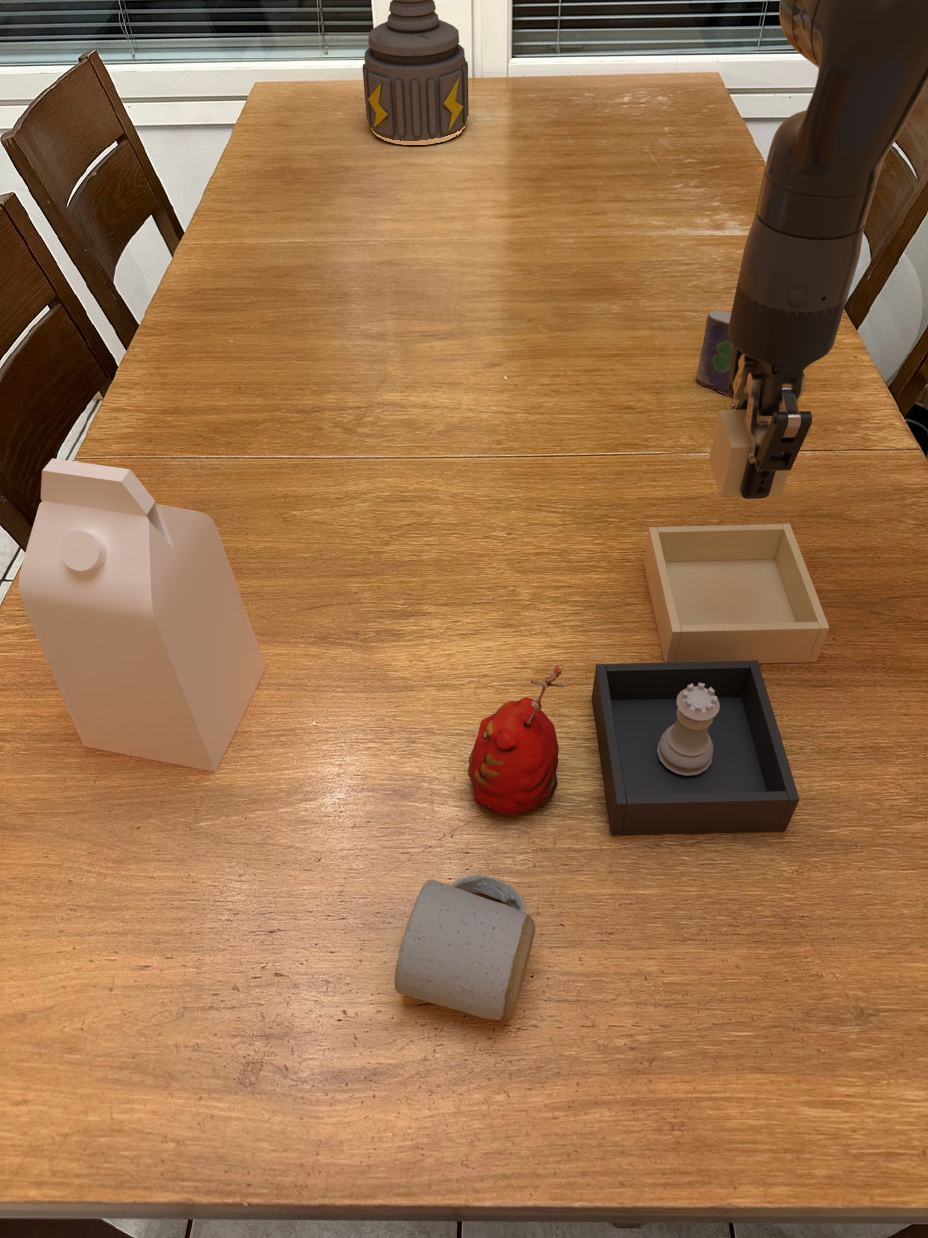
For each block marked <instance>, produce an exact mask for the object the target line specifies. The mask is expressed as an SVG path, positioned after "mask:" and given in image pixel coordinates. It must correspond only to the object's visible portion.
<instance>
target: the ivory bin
mask: <svg viewBox="0 0 928 1238" xmlns="http://www.w3.org/2000/svg"><path fill="white" fill-rule="evenodd" d="M647 530H648V532H647V537H646V541H645V542H646V543H645V549H644V555H643V561H642V562H643V568H644V573H645V578H646V581H647V586H648V591H649V595H650V600H651V605H652V610H653V614H654V619H655V624H656V629H657V633H658V639H659V642H660V643H659V644H660V647H661V652H662V657H663V661H664V662H663V663H666V662H708V661H749V660H758V663H759V664H790V663H791V664H795V663H797V664H798V663H817V661H818V658H819V656H820V653H821V651H822V648H823V645H824V644H825V640H826V638H827V635H828V633H829V631H830V625H829V623H828V620H827V617H826V614H825V613H824V609H823V607H822V604H821V602H820V599H819V596H818V593H817V591H816V588H815V585H814V583H813V580H812V578H811V575H810V572H809V570H808V567H807V565H806V562H805V559H804V557H803V553H802V552H801V549H800V546H799V543H798V541H797V538H796V537H795V536H796V535H795V534H794V531H793V528H792V526H791V523H766V524H765V523H764V524H763V523H761V524H760V523H759V524H723V525H721V524H720V525H718V524H717V525H681V526H680V525H679V526H678V525H677V526H649V527H648V529H647Z"/></svg>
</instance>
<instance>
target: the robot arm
mask: <svg viewBox="0 0 928 1238" xmlns="http://www.w3.org/2000/svg"><path fill="white" fill-rule="evenodd" d="M778 8H779V9H778V15H779V22H780V26H781V30H782V32H783V35H784V36H785V38H786V40H787V41H788V43H789V44H790V46H791V47H792V48H793V49H794V50H795V51H796V52H797V53H798V54H799V55H800V56H802V57H803V58H805V59H806V60H807V61H808V62H810V63H811V64H813V65H814V66H815V67H817V68H818V71H817V76H816V77H817V78H816V82H815V86H814V89H813V92H812V96H811V98H810V101H809V103H808V105H807V108H806V109H804V110H802V111H799V112H796V113H793V114H792V115H790V116H789V117H787V118H786V119H785V120H784V121H782V123H781V124H779V125H778V128H777V130H776V131H775V133H774V134H773V137H772V140H771V143H770V147H769V150H768V154H767V158H766V161H765V164H764V165H765V166H764V170H763V176H762V179H761V180H762V181H761V185H760V190H759V195H758V199H757V204H756V210H755V212H754V213H755V214H754V218H753V220H752V223H751V226H750V229H749V232H748V235H747V237H746V241H745V245H744V250H743V253H742V259H741V263H740V264H741V265H740V268H739V274H738V278H737V284H736V289H735V292H734V293H735V294H734V298H733V304H732V308H731V313H730V314H731V317H730V322H729V327H728V334H729V338H730V340H731V342H732V344H733V345H734V346H733V353H732V361H731V368H730V375H729V382H728V386H727V390H728V393H729V395H734V397H733V399H732V398H731V402H730V406H729V407H730V410H737V409H747V415H746V424H745V427H746V429H747V430H748V431H749V432H750V433H751V437H750V446H749V453H748V460H747V464H746V468H745V472H744V476H743V480H742V484H741V488H740V491H741V494H742V498H743V499H744V500H745V499H746V500H750V499H753V500H754V499H765V498H768V497H769V496H768V495H769V493H770V490H771V486H772V482H773V479H774V475H775V472H776V471H788V470H789V471H791V470H792V468H793V466H794V464H795V462H796V460H797V457H798V455H799V452H800V451H801V448H802V446H803V444H804V442H805V441H806V438H807V435H808V433H809V430H810V429H811V426H812V423H813V414H812V412H811V411H810V410H799V399H800V397H802V395H803V394H804V388H805V382H806V381H805V380H806V376H805V372H804V371H805V369H807V368H808V367H809V366H810V365H812V364H813V363H815V362H817V361H820V360H821V359H822V358H824V357H825V356H826V355H828V354H829V353H830V351H831V350H832V349H833V347H834V344H835V341H836V338H837V334H838V331H839V328H840V325H841V321H842V318H843V315H844V311H845V307H846V304H847V302H848V298H849V295H850V291H851V287H852V285H853V282H854V281H853V280H854V277H855V274H856V271H857V267H858V263H859V260H860V257H861V250H862V245H863V236H864V232H865V228H866V223H867V219H868V216H869V212H870V210H871V206H872V202H873V199H874V195H875V191H876V188H877V185H878V182H879V180H880V179H879V178H880V175H881V172H882V171H881V170H882V166H883V163H884V161H885V158H886V157H887V155H888V154H889V151H890V150H891V148H892V147H893V145H894V144H895V142H896V141H897V139H898V137H899V135H900V134H901V132H902V131H903V129H904V127H905V125H906V123H907V121H908V119H909V118H910V116H911V114H912V113H913V110H914V108H915V107H916V105H917V103H918V101H919V99H920V97H921V96H922V94H923V92H924V90H925V89H926V86H927V85H928V0H779V5H778ZM758 415H761V416H772V418H769V420H768V421H758ZM763 435H765V437H764V439H763V442H762V444H761V438H762V436H763ZM760 445H761V447H760Z"/></svg>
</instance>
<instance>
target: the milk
mask: <svg viewBox="0 0 928 1238" xmlns="http://www.w3.org/2000/svg"><path fill="white" fill-rule="evenodd" d="M40 500H41V502H39V504H38V508H37V510H36V515H35V518H34V521H33V525H32V528H31V532H30V536H29V539H28V542H27V545H26V549H25V553H24V556H23V559H22V563H21V567H20V571H19V577H18V585H17V586H18V595H19V600H20V602H21V605H22V607H23V609H24V612H25V613H26V616H27V619H28V620H29V624H30V625H31V627H32V630H33V632H34V635H35V638H36V639H37V642H38V644H39V646H40V648H41V651H42V653H43V656H44V658H45V660H46V662H47V665H48V667H49V669H50V673H51V675H52V676H53V679H54V681H55V683H56V685H57V688H58V690H59V693H60V695H61V697H62V700H63V702H64V704H65V706H66V708H67V711H68V713H69V716H70V718H71V720H72V723H73V725H74V727H75V729H76V732H77V734H78V737H79V740H80V741H81V744H82V746H83V747H84V748H90V749H94V750H100V751H105V752H108V753H109V752H110V753H114V754H120V755H126V756H130V757H135V758H142V759H145V760H150V761H156V762H162V763H166V764H172V765H176V766H180V767H181V766H182V767H187V768H192V769H197V770H202V771H207V772H212V773H217V771H218V769H219V766H220V765H221V763H222V761H223V758H224V756H225V755H226V752H227V751H228V748H229V746H230V743H231V742H232V739H233V738H234V737H235V736H234V735H235V733H236V732H237V729H238V727H239V725H240V723H241V721H242V719H243V717H244V716H245V713H246V711H247V708H248V707H249V705H250V702H251V700H252V698H253V696H254V694H255V692H256V690H257V688H258V686H259V684H260V682H261V680H262V678H263V675H264V673H266V672H265V671H266V669H267V665H266V662H265V658H264V657H263V654H262V650H261V648H260V645H259V643H258V640H257V637H256V635H255V632H254V629H253V626H252V622H251V620H250V618H249V617H250V616H249V614H248V612H247V609H246V606H245V603H244V600H243V598H242V595H241V592H240V589H239V586H238V583H237V580H236V578H235V575H234V573H233V570H232V567H231V564H230V561H229V559H228V555H227V553H226V550H225V547H224V543H223V541H222V539H221V536H220V533H219V530H218V527H217V525H216V523H215V521H214V519H213V518H212V517H211V516H210V515H209V514H206V513H204V512H202V511H197V510H193V509H188V508H182V507H177V506H171V505H165V504H160V503H156V501H155V499H154V498H153V496H152V495H151V493H149V491H148V490H147V489H146V487H145V486H144V485H143V483H142V482H141V480H139V478H137V476H136V475H135V473H134V472H133V471H132V469H130V468H125V467H116V466H111V465H110V466H109V465H101V464H96V463H89V462H81V461H74V460H67V459H66V460H65V459H59V458H53V457H52V458H51V459H50V460H49V461H48V463H46V465H45V466H44V468H42V470H41V483H40Z"/></svg>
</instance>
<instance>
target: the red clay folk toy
mask: <svg viewBox="0 0 928 1238" xmlns="http://www.w3.org/2000/svg"><path fill="white" fill-rule="evenodd" d="M550 673H551V674H550V675H549V677H545V678H543V680H542V682H539V681H534V680H530V683H532V684H534V685H539V686H542V688H541V692H540V694H539V695H538V698H537V699H533V698H531V697H528V696H525V697H523V698H520V699H518V700H515V701H513V700H510V701H507V702H505V703H503V704H502V705H501V706H500V707H499V708H498V709H497V710H496V711H495V712H494V713H493V714H491V715H489V716H487V717H484V718H483V719H482V720H481V721H480V725H479V727H478V728H479V729H478V732H477V737H476V739H475V741H474V745H473V747H472V750H471V752H470V755H469V757H468V768H467V776H468V777H469V778H470V782H471V784H472V785H473V793H472V794H473V795H472V796H473V799H474V802H475V803H476V805H477V806H479V807H481V808H485V809H491V810H492V811H494V812H496V813H497V814H500V815H504V816H505V815H506V816H512V815H519V814H523V813H527V812H529V811H530V810H532V809H534V808H536V807H537V806H541V805H545V804H547V803H548V802H549V801H550V800H551V798H552V797H553V795H554V794H555V791H556V789H557V786H558V776H557V770H558V766H559V750H560V748H559V742H558V737H557V732H556V728H555V724H554V723H553V722H552V720H551V719H550V718H549V717H548V716H547V714H546V713H545V712H544V711H542V708H543V707H542V703H541V701H542V698H543V695H544V694H545V691H546V690H547V688H549V687H555V688H556V687H557V688H564V685H563V683H553V682H554V681H555V680H556V679H557V678H559V677H561V675H562V668H561V667H560V666H559V665H556V666H555V667H554V668H552V670H551V672H550Z"/></svg>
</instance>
